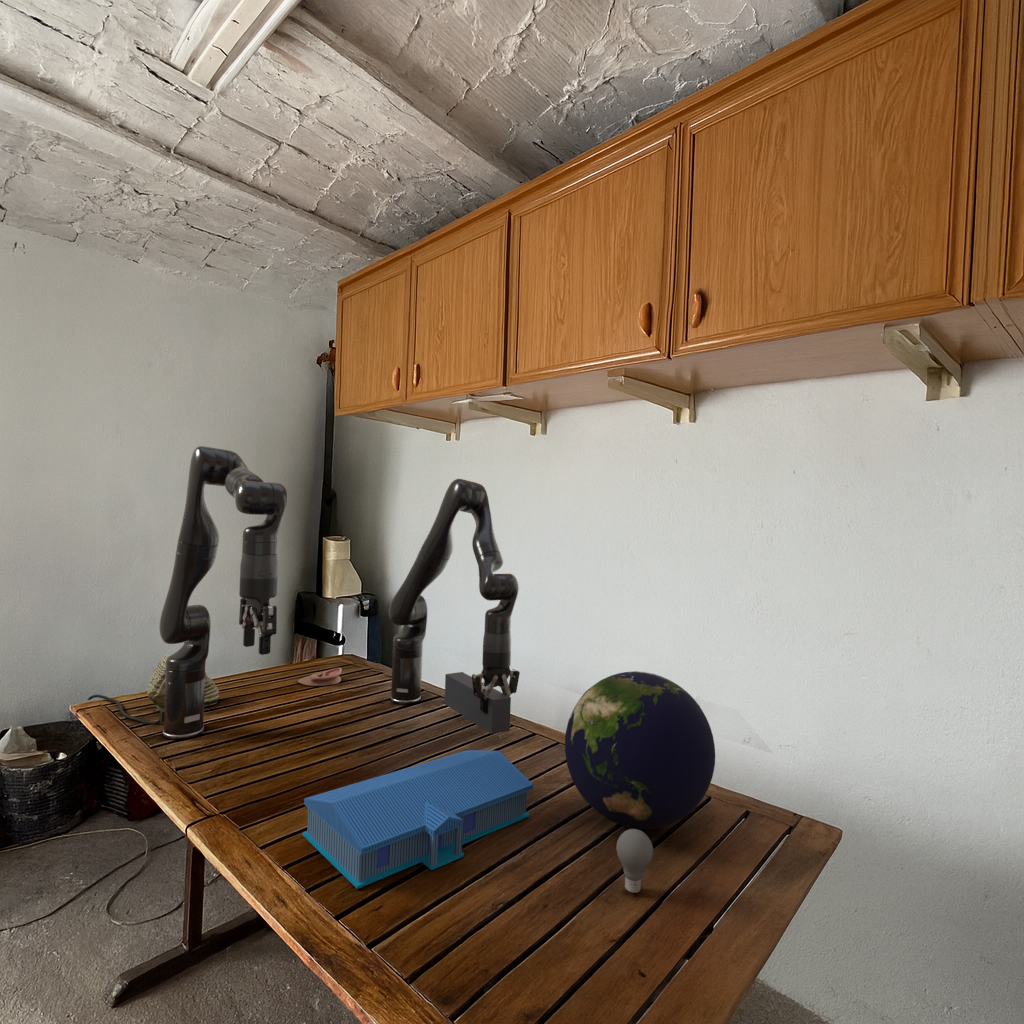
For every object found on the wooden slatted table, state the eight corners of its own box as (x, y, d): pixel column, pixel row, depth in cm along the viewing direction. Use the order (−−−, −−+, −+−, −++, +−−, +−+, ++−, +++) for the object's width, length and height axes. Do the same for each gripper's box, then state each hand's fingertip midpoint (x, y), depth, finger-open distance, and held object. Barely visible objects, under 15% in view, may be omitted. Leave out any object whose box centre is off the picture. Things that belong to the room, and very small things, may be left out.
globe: (541, 837, 121) (548, 681, 121) (583, 776, 149) (589, 649, 148) (703, 878, 110) (712, 707, 109) (717, 804, 138) (723, 667, 137)
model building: (367, 898, 100) (369, 836, 100) (301, 833, 119) (303, 781, 118) (541, 822, 127) (543, 772, 127) (465, 778, 145) (467, 735, 145)
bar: (444, 703, 188) (445, 674, 188) (461, 701, 191) (462, 671, 191) (491, 734, 165) (492, 700, 165) (509, 730, 168) (511, 697, 168)
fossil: (144, 707, 182) (145, 655, 182) (212, 696, 194) (213, 647, 194) (151, 716, 175) (153, 662, 175) (221, 703, 188) (223, 653, 188)
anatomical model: (293, 672, 210) (311, 663, 221) (292, 684, 210) (310, 675, 221) (330, 676, 207) (346, 667, 219) (329, 688, 208) (345, 678, 219)
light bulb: (610, 879, 108) (613, 822, 108) (644, 879, 109) (647, 822, 109) (619, 902, 102) (622, 840, 102) (655, 901, 103) (658, 840, 103)
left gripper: (290, 577, 133) (287, 654, 134) (263, 570, 144) (260, 641, 144) (254, 579, 128) (251, 659, 128) (229, 572, 138) (226, 645, 139)
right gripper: (480, 653, 162) (478, 719, 163) (527, 648, 170) (524, 711, 170) (466, 647, 169) (464, 710, 169) (512, 643, 176) (509, 703, 177)
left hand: (256, 650), depth 136 cm, fingers open, 8 cm apart
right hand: (494, 710), depth 170 cm, fingers closed on bar, 5 cm apart
